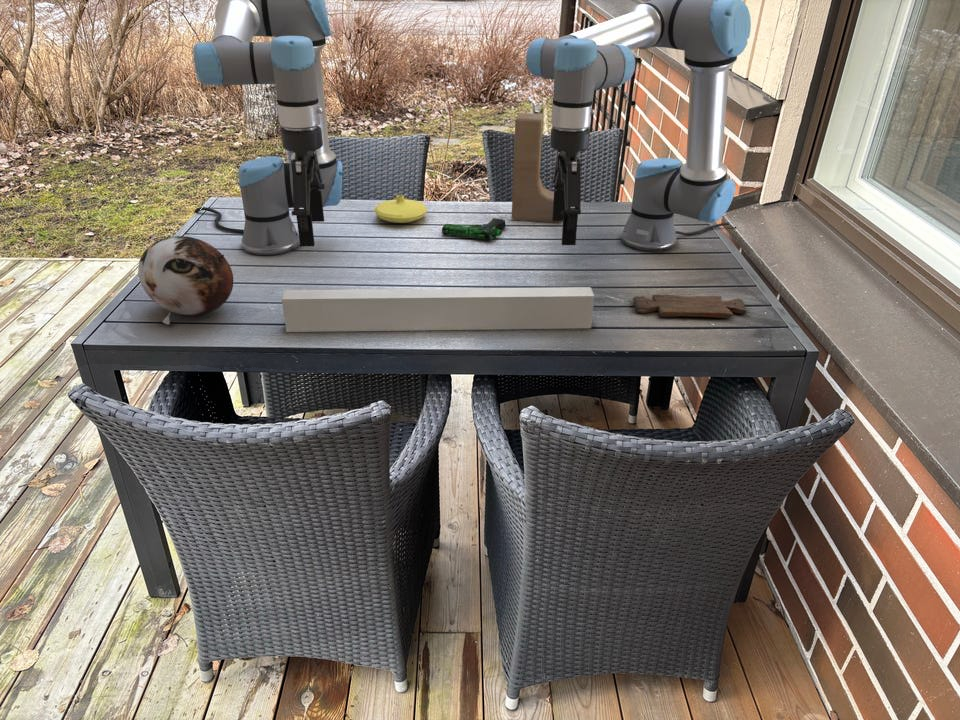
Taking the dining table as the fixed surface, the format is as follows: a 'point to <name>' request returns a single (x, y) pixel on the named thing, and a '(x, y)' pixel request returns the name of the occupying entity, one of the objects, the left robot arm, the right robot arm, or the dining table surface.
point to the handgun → (476, 230)
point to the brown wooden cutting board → (689, 306)
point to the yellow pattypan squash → (400, 210)
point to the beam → (437, 309)
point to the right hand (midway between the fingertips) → (563, 232)
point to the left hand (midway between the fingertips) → (312, 233)
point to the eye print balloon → (185, 276)
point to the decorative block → (529, 172)
